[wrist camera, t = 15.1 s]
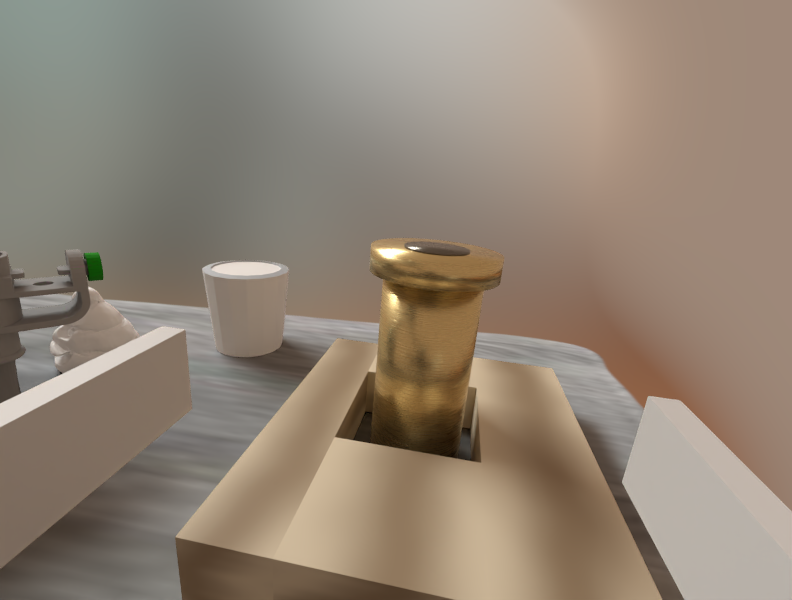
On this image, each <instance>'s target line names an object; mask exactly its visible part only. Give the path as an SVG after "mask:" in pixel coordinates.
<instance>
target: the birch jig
mask: <svg viewBox="0 0 792 600" xmlns="http://www.w3.org/2000/svg"><path fill="white" fill-rule="evenodd" d="M377 350H378V344H374V343H367V342H360V341H353V340H346V339H339V338H337V339H336V341H335V342H334V343H333V344H332V345H331V347H330V348H329V349H328V350H327V352H326V353H325V354H324V355H323V357H322V358H321V359H320V360H319V361H318V363H317V364H316V365H315V366H314V368H313V369H312V370H311V371H310V372H309V374H308V375H307V376H306V377H305V379H304V380H303V381H302V382H301V383H300V385H299V386H298V387H297V388H296V390H295V391H294V392H293V393H292V395H291V396H290V397H289V398H288V399H287V401H286V402H285V403H284V404H283V406H282V407H281V408H280V409H279V410H278V412H277V413H276V414H275V415H274V417H273V418H272V419H271V420H270V421H269V423H268V424H267V425H266V426H265V428H264V429H263V430H262V431H261V433H260V434H259V435H258V436H257V437H256V439H255V440H254V441H253V442H252V444H251V445H250V446H249V447H248V448H247V450H246V451H245V452H244V453H243V455H242V456H241V457H240V458H239V459H238V461H237V462H236V463H235V464H234V466H233V467H232V468H231V469H230V471H229V472H228V473H227V474H226V475H225V477H224V478H223V479H222V480H221V482H220V483H219V484H218V485H217V486H216V488H215V489H214V490H213V491H212V493H211V494H210V495H209V496H208V497H207V499H206V500H205V501H204V502H203V504H202V505H201V506H200V507H199V509H198V510H197V511H196V512H195V513H194V515H193V516H192V517H191V518H190V520H189V521H188V522H187V523H186V524H185V526H184V527H183V528H182V529H181V531H180V532H179V533H178V534H177V535H176V537H175V540H176V549H177V557H178V566H179V575H180V584H181V592H182V600H662V598H661V596H660V593H659V591H658V589H657V587H656V585H655V583H654V581H653V579H652V577H651V575H650V572H649V570H648V568H647V566H646V564H645V562H644V560H643V558H642V556H641V554H640V551H639V549H638V547H637V545H636V543H635V541H634V539H633V537H632V535H631V533H630V530H629V528H628V526H627V524H626V522H625V520H624V518H623V516H622V514H621V512H620V509H619V507H618V505H617V503H616V501H615V499H614V497H613V495H612V493H611V491H610V489H609V486H608V484H607V482H606V480H605V478H604V476H603V474H602V472H601V470H600V468H599V465H598V463H597V461H596V459H595V457H594V455H593V453H592V451H591V449H590V447H589V444H588V442H587V440H586V438H585V436H584V434H583V432H582V430H581V428H580V426H579V423H578V421H577V419H576V417H575V415H574V413H573V411H572V409H571V407H570V405H569V402H568V400H567V398H566V396H565V394H564V392H563V390H562V388H561V386H560V384H559V381H558V379H557V377H556V375H555V373H554V371H553V369H552V368H545V367H538V366H531V365H524V364H516V363H509V362H502V361H495V360H488V359H481V358H474V357H473V362H472V368H471V374H470V381H469V387H468V394H467V400H466V406H465V413H464V419H463V425H462V427H463V428H470V436H471V461H468V460H462V459H456V458H451V457H445V456H439V455H433V454H428V453H422V452H416V451H411V450H405V449H399V448H394V447H388V446H382V445H377V444H371V443H365V442H360V441H354V440H353V439H354V437H355V435H356V432H357V430H358V428H359V425H360V423H361V421H362V418H363V416H364V414H365V411H366V412H372V413H373V402H374V389H375V376H376V363H377Z"/></svg>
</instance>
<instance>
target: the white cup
mask: <svg viewBox="0 0 792 600" xmlns="http://www.w3.org/2000/svg"><path fill="white" fill-rule="evenodd" d="M202 270H203V276H204V282H205V287H206V294H207V299H208V305H209V311H210V317H211V323H212V329H213V334H214V340H215V346H216V349H217V351H219V352H220V353H222V354H224V355H228V356H233V357H254V356H261V355H265V354H268V353H271V352H273V351H275V350H277V349H278V348H279V347H281V344H282V340H283V330H284V319H285V308H286V297H287V286H288V276H289V275H288V274H289V268H287V267H286V266H285V265H282V264H279V263H274V262H268V261H255V260H235V261H225V262H218V263H214V264H210V265H207V266H206V267H204V268H203V269H202Z"/></svg>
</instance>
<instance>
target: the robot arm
mask: <svg viewBox="0 0 792 600" xmlns="http://www.w3.org/2000/svg"><path fill="white" fill-rule="evenodd" d="M191 409H192V401H191V390H190V378H189V367H188V355H187V344H186V333H185V329H178V328H171V327H164V326H162V327H160V328H158V329H155V330H153V331H151V332H149V333H147V334H145V335H143V336H141V337H139V338H137V339H134V340H132V341H130V342H128V343H126V344H124V345H122V346H120V347H118V348H116V349H114V350H111V351H109V352H107V353H105V354H103V355H101V356H99V357H97V358H95V359H93V360H90V361H88V362H86V363H84V364H82V365H80V366H78V367H76V368H74V369H72V370H69V371H67V372H65V373H63V374H61V375H59V376H57V377H55V378H53V379H51V380H49V381H46V382H44V383H42V384H40V385H38V386H36V387H34V388H32V389H30V390H28V391H25V392H23V393H21V394H19V395H17V396H15V397H13V398H11V399H9V400H7V401H4V402H2V403H0V569H1V568H2V567H3V566H4V565H6V564H7V563H8V562H9V561H10V560H12V559H13V558H14V557H15V556H16V555H18V554H19V553H20V552H21V551H22V550H24V549H25V548H26V547H27V546H28V545H30V544H31V543H32V542H33V541H34V540H36V539H37V538H38V537H39V536H40V535H42V534H43V533H44V532H45V531H46V530H48V529H49V528H50V527H51V526H52V525H54V524H55V523H56V522H57V521H58V520H60V519H61V518H62V517H63V516H64V515H66V514H67V513H68V512H69V511H70V510H72V509H73V508H74V507H75V506H76V505H78V504H79V503H80V502H81V501H82V500H83V499H85V498H86V497H87V496H88V495H89V494H91V493H92V492H93V491H94V490H95V489H97V488H98V487H99V486H100V485H101V484H103V483H104V482H105V481H106V480H107V479H109V478H110V477H111V476H112V475H113V474H115V473H116V472H117V471H118V470H119V469H121V468H122V467H123V466H124V465H125V464H127V463H128V462H129V461H130V460H131V459H133V458H134V457H135V456H136V455H137V454H139V453H140V452H141V451H142V450H143V449H145V448H146V447H147V446H148V445H149V444H151V443H152V442H153V441H154V440H155V439H157V438H158V437H159V436H160V435H161V434H163V433H164V432H165V431H166V430H167V429H169V428H170V427H171V426H172V425H173V424H175V423H176V422H177V421H178V420H179V419H180V418H182V417H183V416H184V415H185V414H186V413H188V412H189V411H190V410H191ZM622 484H623V485H624V487H625V489H626V491H627V493H628V495H629V497H630V499H631V500H632V502H633V504H634V506H635V508H636V510H637V512H638V514H639V515H640V517H641V519H642V521H643V523H644V525H645V527H646V529H647V530H648V532H649V534H650V536H651V538H652V540H653V542H654V544H655V545H656V547H657V549H658V551H659V553H660V555H661V557H662V559H663V560H664V562H665V564H666V566H667V568H668V570H669V572H670V574H671V576H672V577H673V579H674V581H675V583H676V585H677V587H678V589H679V591H680V592H681V594H682V596H683V598H684V600H792V512H791V510H790V509H789V508H788V507H787V506H786V505H785V504H784V503H783V502H781V500H780V499H779V498H778V497H777V496H776V495H775V494H774V493H773V492H771V490H770V489H769V488H767V486H766V485H765V484H764V483H762V482H761V481H760V479H759V478H758V477H756V476H755V475H754V474H753V473H752V472H751V470H750V469H748V468H747V466H745V465H744V464H743V463H742V462H741V461H740V460H739V459H738V458H737V457H736V456H735V455H734V454H733V453H732V452H731V451H730V450H729V449H728V448H727V447H726V446H725V445H724V444H723V443H722V442H721V441H720V440H719V439H718V438H717V437H716V436H715V435H714V434H713V433H712V432H711V431H710V430H709V429H708V428H707V427H706V426H705V425H704V424H703V423H702V422H701V421H700V420H699V419H698V418H697V417H696V416H695V415H694V414H693V413H692V412H691V411H690V410H689V409H688V408H687V407H686V406H685V405H684V404H683V403H682V402H681V401H680V400H674V399H667V398H660V397H652V396H648V399H647V402H646V406H645V409H644V412H643V415H642V418H641V422H640V425H639V428H638V432H637V435H636V438H635V441H634V445H633V448H632V451H631V454H630V458H629V461H628V464H627V468H626V471H625V474H624V477H623V481H622Z"/></svg>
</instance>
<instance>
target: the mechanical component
mask: <svg viewBox="0 0 792 600" xmlns="http://www.w3.org/2000/svg"><path fill="white" fill-rule="evenodd" d="M65 256H66V263H67V265H66V266H58V267H57V271H58V274H59V275H69V276H58V277H45V278H32V279H22V280H21V279H20V280H14V279H18V278H24V270H23V269H11V266H10V264H9V260H8V255H7V252H6V251H0V403H2V402H4V401H7V400H9V399H11V398H13V397H15V396H17V395H19V394H21V392H20V387H19V383H18V378H17V369H16V365H15V360H16V359H18V358H20V357H21V356H22V355H23V354H24V353H25V351H26V349H25V347H24V346H23V345H21V343H20V338H19V334H18V332H19V331H26V330H33V329H40V328H47V327H54V326H61V325H67V324H71V323H74V322H76V321H78V320H80V319H81V318H83V317H84V316H85V315H86V313H87V312H88V310H89V308H90V295H89V289H88V283H87V277H88V280H89V281H94V280H103V269H102V264H101V259H100V256H99V253H98V252H97V253H84V259H83V257H82V254H81V251H80V250H79V249H78V250H65ZM86 275H87V277H86ZM67 292H77V293H76V296H75V297H74V298H73V299H72V300H71V301H70V302H68V303H66V304H63V305H55V306H47V307H38V308H30V309H21V304H20V299H19V297H29V296H39V295H48V294H58V293H67Z"/></svg>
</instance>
